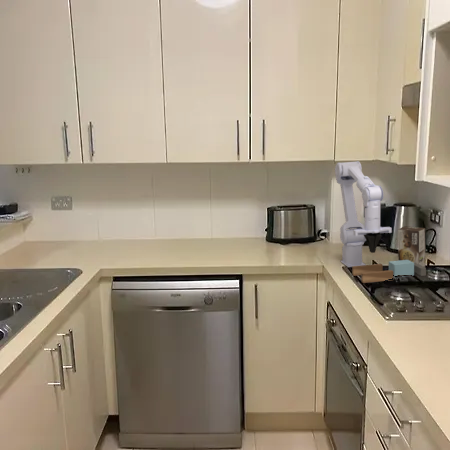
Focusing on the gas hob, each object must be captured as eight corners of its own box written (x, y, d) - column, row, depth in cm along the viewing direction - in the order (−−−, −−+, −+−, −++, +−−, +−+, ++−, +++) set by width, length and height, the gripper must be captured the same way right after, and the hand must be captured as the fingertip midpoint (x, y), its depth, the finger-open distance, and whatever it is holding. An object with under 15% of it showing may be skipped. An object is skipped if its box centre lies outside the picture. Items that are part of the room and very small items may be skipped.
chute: (352, 274, 190) (352, 266, 190) (380, 271, 192) (380, 263, 191) (363, 282, 180) (363, 274, 179) (393, 279, 181) (393, 271, 181)
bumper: (410, 270, 192) (410, 263, 191) (415, 269, 192) (415, 262, 191) (421, 275, 184) (421, 268, 183) (425, 275, 184) (426, 268, 183)
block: (388, 273, 189) (388, 261, 188) (407, 271, 190) (407, 259, 189) (394, 277, 184) (394, 264, 183) (413, 275, 185) (414, 263, 184)
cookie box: (425, 266, 196) (426, 227, 193) (418, 269, 191) (419, 230, 188) (404, 262, 202) (404, 225, 199) (397, 266, 198) (397, 228, 195)
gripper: (358, 221, 176) (358, 256, 179) (395, 218, 178) (395, 252, 181) (351, 217, 183) (351, 251, 186) (386, 214, 185) (386, 248, 188)
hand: (372, 252), depth 184 cm, fingers closed
